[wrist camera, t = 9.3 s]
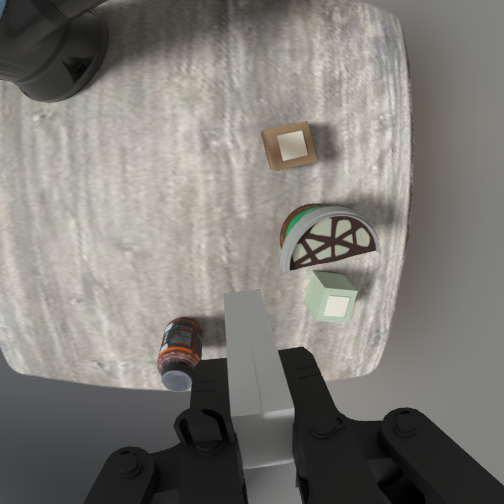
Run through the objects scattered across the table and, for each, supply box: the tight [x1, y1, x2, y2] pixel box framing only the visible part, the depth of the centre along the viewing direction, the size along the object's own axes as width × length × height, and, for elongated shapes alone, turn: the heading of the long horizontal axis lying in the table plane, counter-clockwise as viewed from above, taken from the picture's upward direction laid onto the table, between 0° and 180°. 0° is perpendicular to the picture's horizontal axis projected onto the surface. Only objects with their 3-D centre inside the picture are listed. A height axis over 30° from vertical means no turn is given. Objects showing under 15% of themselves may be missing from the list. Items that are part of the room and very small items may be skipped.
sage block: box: [304, 271, 358, 323], centre depth 42 cm, size 5×5×6 cm
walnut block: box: [261, 121, 317, 171], centre depth 35 cm, size 5×5×5 cm
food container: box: [280, 204, 381, 275], centre depth 37 cm, size 12×6×10 cm, turn 101°
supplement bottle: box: [157, 318, 202, 392], centre depth 40 cm, size 6×6×11 cm
